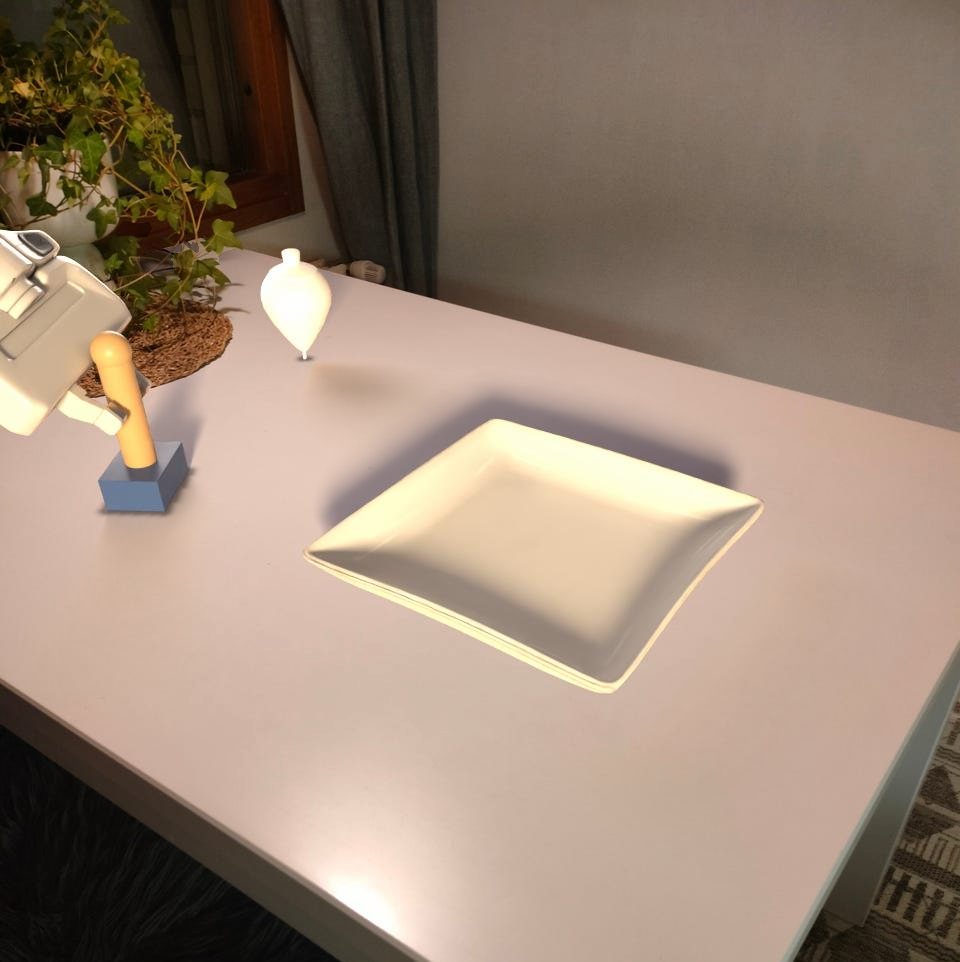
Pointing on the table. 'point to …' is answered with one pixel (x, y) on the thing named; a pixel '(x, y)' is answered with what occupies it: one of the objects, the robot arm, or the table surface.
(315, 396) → the table surface
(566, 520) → the square plate
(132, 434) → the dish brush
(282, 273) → the spinning top
